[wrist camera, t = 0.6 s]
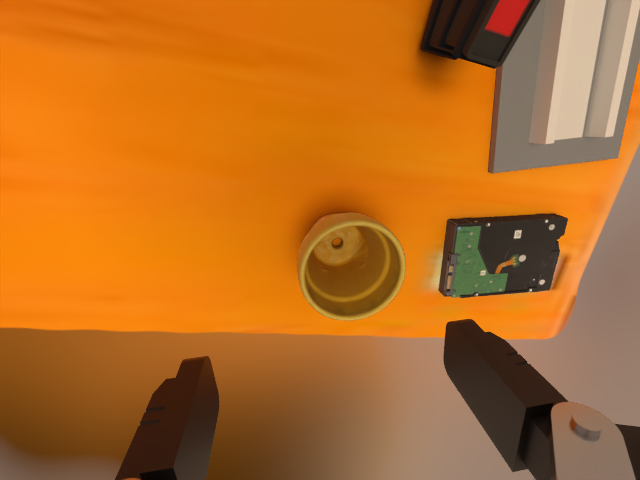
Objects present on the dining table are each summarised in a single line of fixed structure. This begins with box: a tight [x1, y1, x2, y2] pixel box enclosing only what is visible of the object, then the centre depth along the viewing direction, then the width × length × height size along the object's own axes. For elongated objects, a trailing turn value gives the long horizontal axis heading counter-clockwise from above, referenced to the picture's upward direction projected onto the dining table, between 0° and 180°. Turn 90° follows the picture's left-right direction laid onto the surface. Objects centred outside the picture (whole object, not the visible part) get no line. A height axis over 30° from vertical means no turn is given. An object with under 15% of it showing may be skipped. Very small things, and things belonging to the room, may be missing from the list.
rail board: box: [488, 0, 640, 173], centre depth 34 cm, size 22×16×4 cm
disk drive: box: [439, 214, 568, 298], centre depth 42 cm, size 10×3×15 cm
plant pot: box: [297, 212, 406, 321], centre depth 35 cm, size 10×10×10 cm
